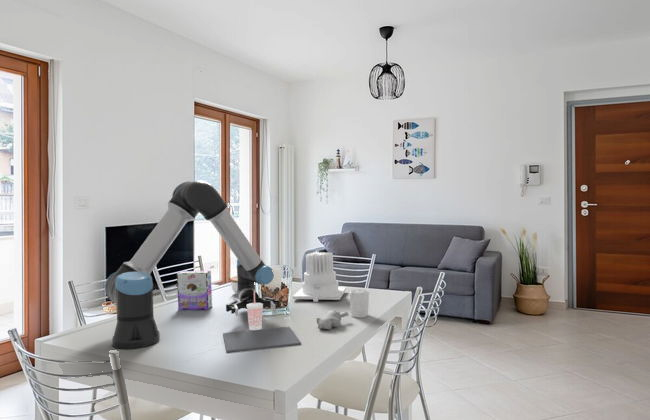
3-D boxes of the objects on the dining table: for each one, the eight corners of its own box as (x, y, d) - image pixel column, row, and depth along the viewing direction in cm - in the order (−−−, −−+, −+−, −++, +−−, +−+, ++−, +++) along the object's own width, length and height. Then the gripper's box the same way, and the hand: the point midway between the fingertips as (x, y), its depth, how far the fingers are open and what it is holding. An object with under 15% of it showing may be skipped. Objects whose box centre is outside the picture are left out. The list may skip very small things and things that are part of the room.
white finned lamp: (339, 303, 213) (337, 256, 212) (292, 302, 216) (290, 256, 216) (346, 291, 237) (345, 249, 236) (304, 291, 241) (302, 249, 240)
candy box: (212, 306, 211) (211, 270, 211) (208, 310, 206) (207, 272, 205) (183, 306, 213) (181, 270, 212) (177, 310, 207) (176, 272, 206)
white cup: (368, 312, 194) (367, 288, 194) (370, 317, 186) (370, 292, 186) (349, 313, 194) (348, 289, 193) (350, 318, 186) (350, 293, 185)
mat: (301, 344, 155) (301, 342, 155) (226, 352, 149) (226, 350, 149) (289, 328, 174) (289, 326, 174) (223, 334, 168) (222, 333, 168)
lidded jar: (257, 292, 240) (256, 274, 240) (242, 296, 231) (242, 277, 231) (241, 290, 246) (240, 272, 245) (226, 294, 237) (226, 276, 236)
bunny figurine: (310, 319, 172) (328, 305, 185) (311, 332, 172) (329, 317, 186) (334, 321, 167) (350, 307, 181) (335, 335, 168) (351, 319, 181)
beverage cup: (266, 326, 177) (265, 289, 177) (259, 331, 171) (258, 293, 171) (251, 325, 179) (250, 289, 178) (244, 330, 173) (243, 292, 172)
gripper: (279, 305, 196) (289, 317, 175) (218, 310, 189) (221, 324, 168) (279, 287, 195) (289, 297, 175) (217, 291, 189) (220, 303, 168)
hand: (255, 310), depth 172 cm, fingers open, 13 cm apart
